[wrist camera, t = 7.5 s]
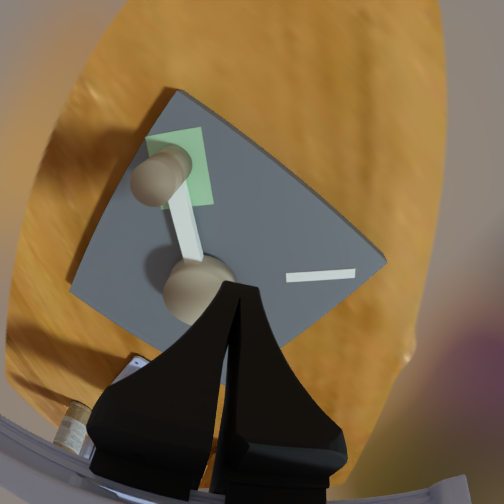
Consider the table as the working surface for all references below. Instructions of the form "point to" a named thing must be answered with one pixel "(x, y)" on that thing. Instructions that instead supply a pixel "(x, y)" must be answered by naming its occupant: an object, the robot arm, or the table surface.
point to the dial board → (223, 235)
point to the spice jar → (73, 427)
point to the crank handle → (180, 233)
